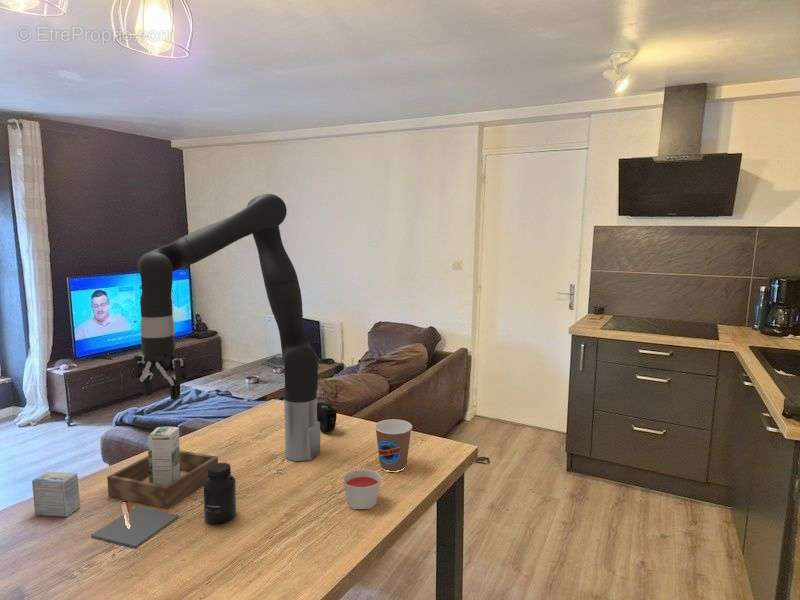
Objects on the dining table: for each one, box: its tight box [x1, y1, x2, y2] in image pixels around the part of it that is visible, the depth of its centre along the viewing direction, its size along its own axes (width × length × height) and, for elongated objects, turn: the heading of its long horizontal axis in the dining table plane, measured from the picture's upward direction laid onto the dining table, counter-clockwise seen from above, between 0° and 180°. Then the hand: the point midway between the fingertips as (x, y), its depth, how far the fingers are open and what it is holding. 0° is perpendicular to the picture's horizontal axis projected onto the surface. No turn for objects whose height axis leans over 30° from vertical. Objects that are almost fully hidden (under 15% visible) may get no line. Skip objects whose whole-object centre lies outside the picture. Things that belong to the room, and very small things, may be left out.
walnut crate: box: [106, 450, 219, 510], centre depth 127 cm, size 18×18×5 cm
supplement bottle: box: [203, 462, 237, 526], centre depth 112 cm, size 7×7×12 cm
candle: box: [342, 468, 382, 510], centre depth 118 cm, size 9×9×6 cm
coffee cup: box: [374, 418, 413, 471], centre depth 137 cm, size 10×10×12 cm
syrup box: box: [147, 426, 182, 486], centre depth 126 cm, size 6×6×14 cm
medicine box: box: [31, 471, 81, 518], centre depth 114 cm, size 8×4×9 cm, turn 84°
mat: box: [90, 505, 180, 549], centre depth 108 cm, size 12×12×1 cm
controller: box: [317, 402, 338, 433], centre depth 163 cm, size 4×12×10 cm, turn 32°
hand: (161, 397), depth 124 cm, fingers open, 8 cm apart
